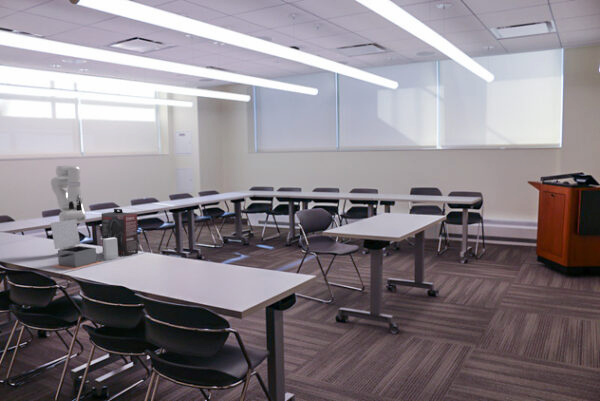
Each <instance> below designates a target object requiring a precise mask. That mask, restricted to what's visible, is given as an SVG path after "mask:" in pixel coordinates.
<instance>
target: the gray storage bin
mask: <svg viewBox="0 0 600 401" xmlns="http://www.w3.org/2000/svg"><path fill="white" fill-rule="evenodd" d="M57 256H58V258H57V259H58V260H57V261H58V264H59V266H66V267H72V268H78V267H82V266H86V265H90V264H94V263H96V261H97V248H96V247H89V246H83V245H82V246H81V245H76V247H72V248H67V249H62V250H60V249H58V250H57ZM94 265H95V264H94ZM90 266H91V265H90Z"/></svg>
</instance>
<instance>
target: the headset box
mask: <svg viewBox="0 0 600 401" xmlns="http://www.w3.org/2000/svg"><path fill="white" fill-rule="evenodd" d="M123 211H124V210H123V208H113V211H111V212H109V211H108V212H103V213H101V214H100V215H101V236H102V237H101V239H102V240H101V242H102V244H101V245H103V239H105V238H112V237H115V238H117V246H118V256H124V257H127V256H131V255H134V254H135V255H136V254H138V253H139V244H138V243H139V242H138V214H137V213H132V212H123ZM102 254H104V250H103V249H102Z"/></svg>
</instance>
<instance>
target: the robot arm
mask: <svg viewBox="0 0 600 401" xmlns="http://www.w3.org/2000/svg"><path fill="white" fill-rule="evenodd" d="M55 174H56V177H53V178H51V180H50V184H51V185H50V186H51V188H52V189H51V190H52V191H53V192H54V195H55V197H56V199H57V204H58V208H59V211H60V213H59V214H58V218H59V219H58V220H59V222H60V221H67V220H74V219H76V222H77V224H80V223H84V222H85V221H86V220H87V218H86V216H87V215H86V212H85V207H84V204H83V197H82V189H81V168H80V167H79V166H78V165H57V166H56V168H55ZM66 188H67V190H66ZM72 247H77V245H73V246H68V247H63V248H59V250H62V249H67V248H72Z"/></svg>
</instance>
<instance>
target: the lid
mask: <svg viewBox="0 0 600 401" xmlns="http://www.w3.org/2000/svg"><path fill="white" fill-rule="evenodd" d="M50 228H51V233H52V240H53V246H54V249H55V250H57V249H58V250H59V249H60V248H63V247H68V246H73V245H76V246H79V245H81V241H80V240H81V239H80V234H79V229H78V223H77V222H76V219H74V220H67V221H60V220H59V221H54V222H53V221H52V222H50Z"/></svg>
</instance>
